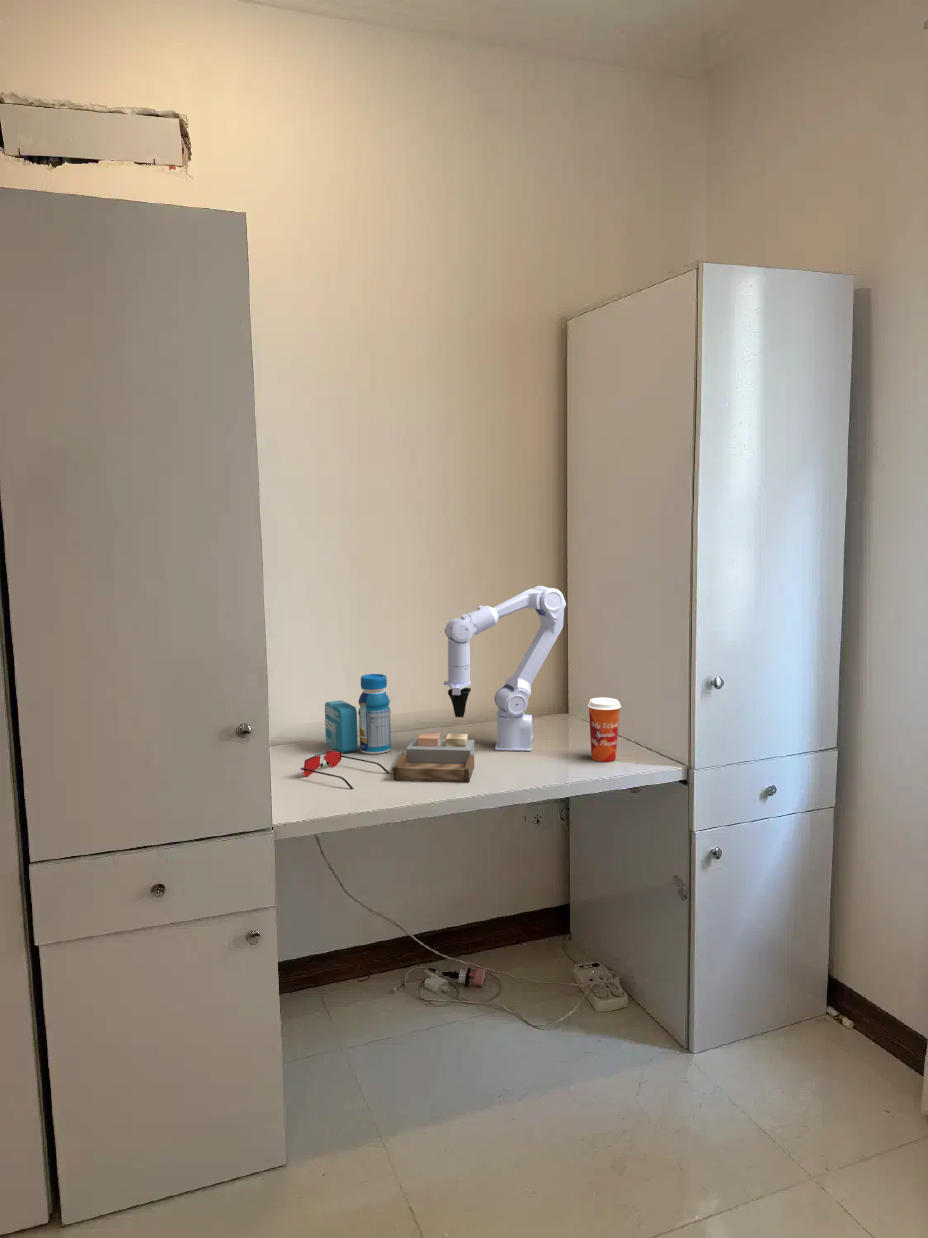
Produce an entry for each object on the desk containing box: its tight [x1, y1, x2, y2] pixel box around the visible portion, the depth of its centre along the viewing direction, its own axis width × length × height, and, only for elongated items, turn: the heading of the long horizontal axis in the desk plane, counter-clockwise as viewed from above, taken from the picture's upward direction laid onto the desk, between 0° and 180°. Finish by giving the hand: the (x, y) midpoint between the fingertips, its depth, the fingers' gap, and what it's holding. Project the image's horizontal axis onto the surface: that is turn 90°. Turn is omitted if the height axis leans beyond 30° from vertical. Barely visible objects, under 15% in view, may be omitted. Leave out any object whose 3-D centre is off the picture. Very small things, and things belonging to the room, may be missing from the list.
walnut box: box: [392, 752, 475, 783], centre depth 211 cm, size 18×12×3 cm
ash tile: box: [445, 733, 469, 747], centre depth 222 cm, size 5×5×2 cm
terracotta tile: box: [417, 732, 441, 746], centre depth 222 cm, size 5×5×2 cm
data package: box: [324, 699, 359, 754], centre depth 233 cm, size 12×4×12 cm, turn 30°
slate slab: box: [405, 738, 475, 764], centre depth 222 cm, size 16×10×4 cm, turn 84°
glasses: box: [300, 749, 391, 790], centre depth 210 cm, size 14×16×5 cm
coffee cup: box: [587, 697, 622, 763], centre depth 221 cm, size 8×8×15 cm
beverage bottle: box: [357, 673, 392, 755], centre depth 230 cm, size 8×8×20 cm
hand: (459, 716), depth 228 cm, fingers closed
